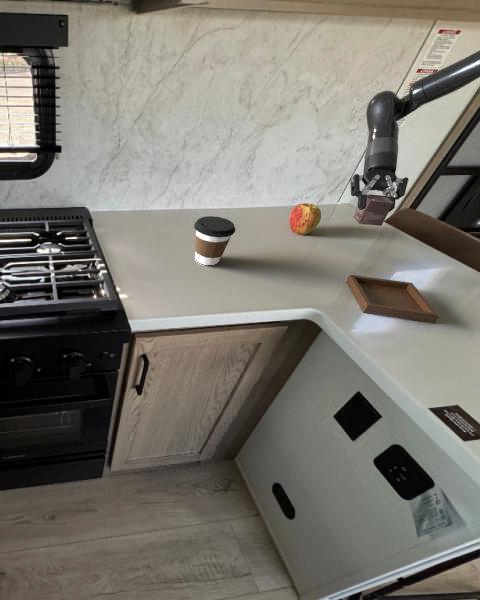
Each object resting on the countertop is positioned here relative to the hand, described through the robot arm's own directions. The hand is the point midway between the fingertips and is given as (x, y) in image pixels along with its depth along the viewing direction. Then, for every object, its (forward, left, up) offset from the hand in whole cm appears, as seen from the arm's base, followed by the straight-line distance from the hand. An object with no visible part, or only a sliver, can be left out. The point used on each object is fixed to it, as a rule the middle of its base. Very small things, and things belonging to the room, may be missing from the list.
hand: (375, 210), depth 101 cm
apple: (+15, -7, -12) cm, 21 cm away
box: (0, -2, -5) cm, 5 cm away
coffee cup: (+45, +22, -12) cm, 52 cm away
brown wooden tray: (+2, +30, -12) cm, 33 cm away
